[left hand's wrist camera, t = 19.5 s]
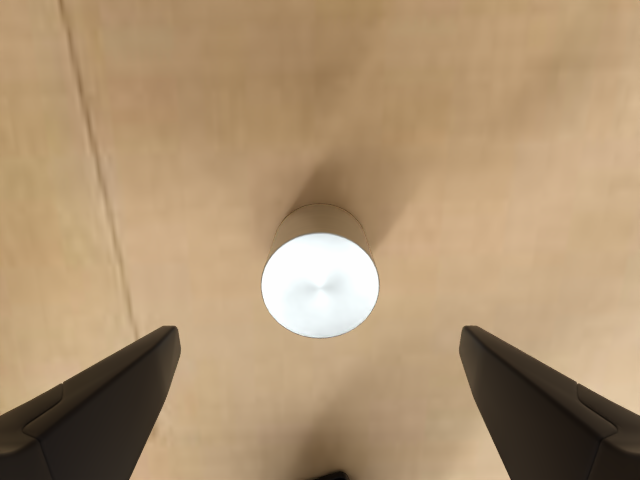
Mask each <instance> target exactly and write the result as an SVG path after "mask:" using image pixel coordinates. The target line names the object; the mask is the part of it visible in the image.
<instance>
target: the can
mask: <svg viewBox="0 0 640 480" xmlns="http://www.w3.org/2000/svg"><path fill="white" fill-rule="evenodd" d="M261 291H262V297H263V300H264V303H265V305H266V307H267V309H268V311H269V312H270V314H271V315H272V316H273V318H274V319H275V320H276V321H277V322H278V323H279V324H281V325H282V326H283V327H285V328H286V329H288V330H290V331H291V332H294V333H296V334H298V335H302V336H305V337H311V338H330V337H335V336H339V335H342V334H345V333H347V332H349V331H351V330H353V329H355V328H356V327H357V326H359V325H360V324H361V323H362V322H363V321H364V320H365V319H366V318H367V317H368V316H369V315H370V313H371V312H372V310H373V308H374V306H375V304H376V302H377V299H378V295H379V275H378V271H377V268H376V265H375V262H374V259H373V256H372V253H371V251H370V248H369V245H368V242H367V239H366V236H365V233H364V231H363V229H362V227H361V225H360V224H359V222H358V221H357V220H356V219H355V218H354V217H353V216H352V215H351V214H350V213H348V212H347V211H345V210H344V209H341V208H339V207H337V206H334V205H329V204H312V205H307V206H304V207H301V208H299V209H297V210H295V211H294V212H292V213H291V214H289V215H288V216H287V217H286V218H285V219H284V220H283V221H282V223H281V224H280V226H279V227H278V230H277V232H276V234H275V237H274V240H273V243H272V246H271V249H270V252H269V255H268V258H267V261H266V264H265V267H264V270H263V273H262V278H261Z"/></svg>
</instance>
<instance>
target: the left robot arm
mask: <svg viewBox="0 0 640 480" xmlns="http://www.w3.org/2000/svg"><path fill="white" fill-rule="evenodd" d="M180 354H181V346H180V339H179V333H178V329H177V327H176V326H162V327H160V328H158V329H157V330H155V331H153V332H151V333H149V334H148V335H146V336H144V337H142V338H141V339H139V340H137V341H135V342H134V343H132V344H130V345H128V346H126V347H125V348H123V349H121V350H119V351H118V352H116V353H114V354H112V355H111V356H109V357H107V358H105V359H103V360H102V361H100V362H98V363H96V364H95V365H93V366H91V367H89V368H88V369H86V370H84V371H82V372H80V373H79V374H77V375H75V376H73V377H72V378H70V379H68V380H66V381H64V382H63V384H59V385H57V386H56V387H54V388H52V389H50V390H49V391H47V392H45V393H43V394H41V395H39V396H38V397H36V398H34V399H32V400H30V401H28V402H26V403H24V404H22V405H20V406H18V407H16V408H15V409H13V410H11V411H9V412H7V413H5V414H3V415H1V416H0V480H129V479H130V477H131V475H132V472H133V470H134V468H135V466H136V464H137V461H138V459H139V457H140V455H141V453H142V450H143V448H144V446H145V444H146V442H147V439H148V437H149V435H150V433H151V431H152V429H153V426H154V424H155V422H156V420H157V418H158V415H159V413H160V411H161V409H162V407H163V404H164V402H165V400H166V397H167V394H168V391H169V388H170V385H171V382H172V379H173V376H174V373H175V370H176V367H177V364H178V361H179V357H180ZM459 354H460V357H461V361H462V364H463V367H464V370H465V373H466V376H467V379H468V382H469V385H470V388H471V391H472V394H473V397H474V400H475V402H476V404H477V407H478V409H479V411H480V413H481V415H482V418H483V420H484V422H485V424H486V426H487V429H488V431H489V433H490V435H491V437H492V439H493V442H494V444H495V446H496V448H497V450H498V453H499V455H500V457H501V459H502V461H503V464H504V466H505V468H506V470H507V472H508V475H509V477H510V479H511V480H640V416H639V415H637V414H635V413H633V412H631V411H629V410H627V409H625V408H624V407H622V406H620V405H618V404H616V403H614V402H612V401H610V400H608V399H606V398H604V397H602V396H601V395H599V394H597V393H595V392H593V391H591V390H590V389H588V388H586V387H584V386H583V385H581V384H577V382H576V381H574V380H572V379H570V378H568V377H567V376H565V375H563V374H561V373H560V372H558V371H556V370H554V369H552V368H551V367H549V366H547V365H545V364H544V363H542V362H540V361H538V360H537V359H535V358H533V357H531V356H529V355H528V354H526V353H524V352H522V351H521V350H519V349H517V348H515V347H514V346H512V345H510V344H508V343H506V342H505V341H503V340H501V339H499V338H498V337H496V336H494V335H492V334H490V333H489V332H487V331H485V330H483V329H482V328H480V327H478V326H464V327H463V329H462V333H461V339H460V346H459ZM315 480H350V479H349V478H348V476H347V475H346V474H345V473H343V472H336V473H333V474H330V475H327V476H324V477H321V478H318V479H315Z"/></svg>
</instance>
